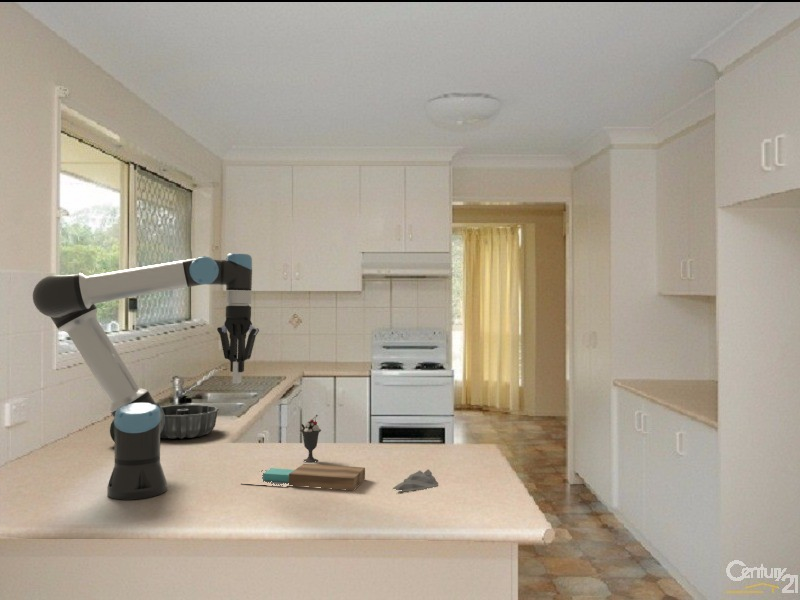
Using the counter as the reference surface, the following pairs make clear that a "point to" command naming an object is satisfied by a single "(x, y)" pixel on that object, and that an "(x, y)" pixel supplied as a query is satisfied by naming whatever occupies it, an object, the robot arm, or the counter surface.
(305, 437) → the sundae
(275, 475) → the rectangular block
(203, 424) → the bundt pan
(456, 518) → the counter surface
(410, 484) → the cloth
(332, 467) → the brown wooden slab
